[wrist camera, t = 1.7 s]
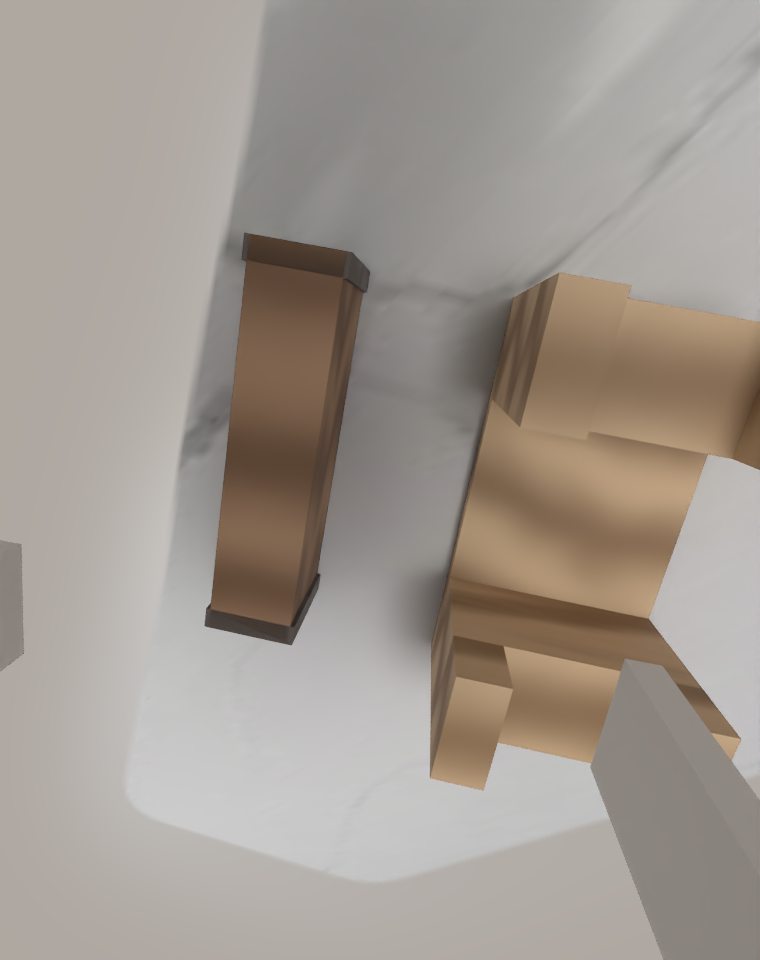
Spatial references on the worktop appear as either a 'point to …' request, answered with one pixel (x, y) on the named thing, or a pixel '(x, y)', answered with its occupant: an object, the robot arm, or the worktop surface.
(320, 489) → the rail
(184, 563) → the worktop surface
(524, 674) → the wooden notched cradle stand
